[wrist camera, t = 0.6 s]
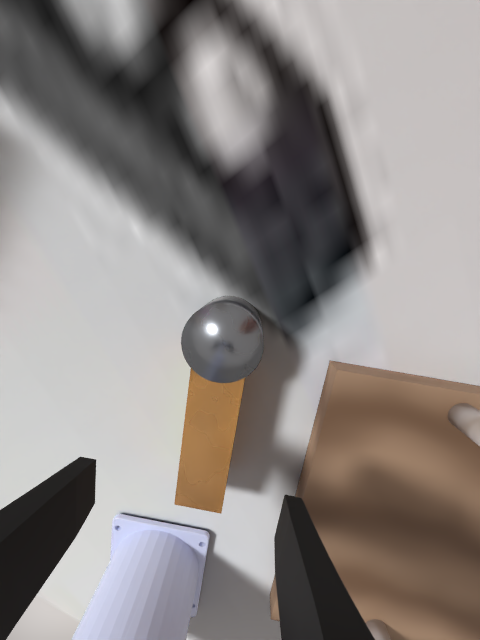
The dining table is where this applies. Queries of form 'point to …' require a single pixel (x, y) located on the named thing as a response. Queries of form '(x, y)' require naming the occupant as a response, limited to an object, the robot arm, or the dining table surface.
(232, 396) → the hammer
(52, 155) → the dining table surface
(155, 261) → the dining table surface
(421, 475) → the walnut board
